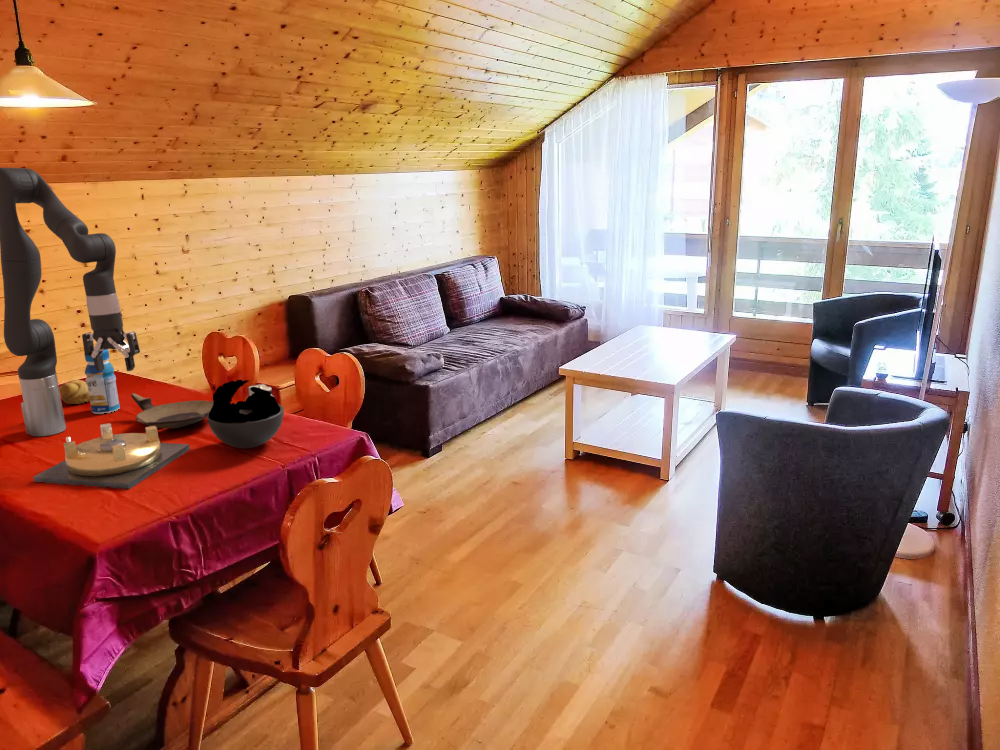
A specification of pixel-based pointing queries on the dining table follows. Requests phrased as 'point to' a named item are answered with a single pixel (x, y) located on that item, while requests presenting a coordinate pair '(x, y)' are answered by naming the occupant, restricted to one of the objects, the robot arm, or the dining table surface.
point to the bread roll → (74, 392)
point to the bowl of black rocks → (244, 416)
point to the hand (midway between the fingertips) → (115, 370)
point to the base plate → (118, 480)
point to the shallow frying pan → (171, 412)
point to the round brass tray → (112, 452)
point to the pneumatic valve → (261, 388)
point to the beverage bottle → (102, 386)
